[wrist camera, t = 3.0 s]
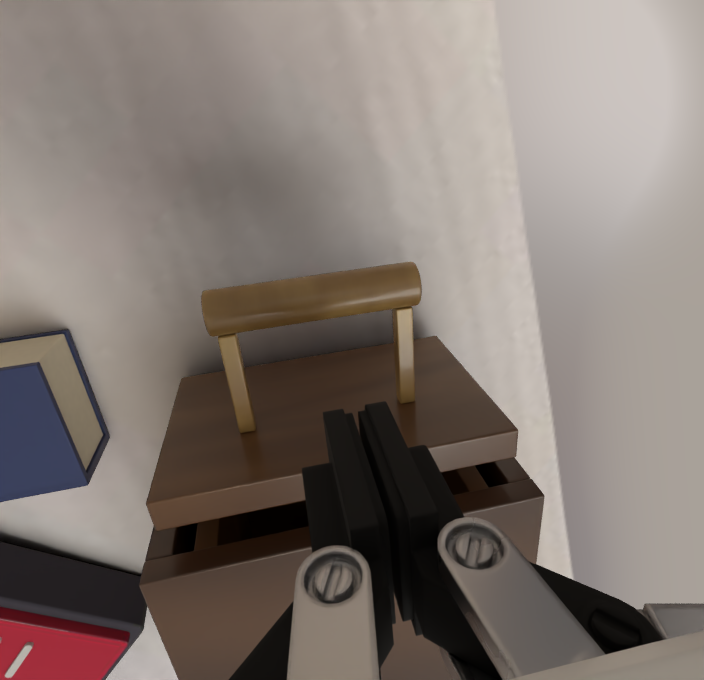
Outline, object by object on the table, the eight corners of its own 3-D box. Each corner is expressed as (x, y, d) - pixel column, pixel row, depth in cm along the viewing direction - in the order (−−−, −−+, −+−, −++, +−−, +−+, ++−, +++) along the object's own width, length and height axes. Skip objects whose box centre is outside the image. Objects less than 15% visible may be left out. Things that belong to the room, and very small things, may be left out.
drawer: (148, 262, 19) (85, 344, 12) (435, 224, 20) (532, 277, 13) (241, 591, 27) (237, 754, 20) (438, 546, 29) (497, 682, 22)
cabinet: (181, 408, 23) (138, 585, 14) (441, 363, 25) (545, 495, 16) (242, 616, 30) (238, 822, 21) (441, 569, 31) (515, 740, 23)
